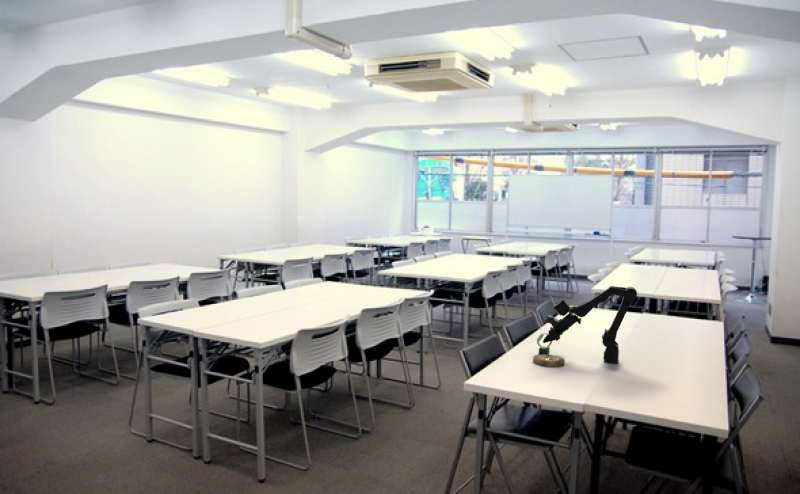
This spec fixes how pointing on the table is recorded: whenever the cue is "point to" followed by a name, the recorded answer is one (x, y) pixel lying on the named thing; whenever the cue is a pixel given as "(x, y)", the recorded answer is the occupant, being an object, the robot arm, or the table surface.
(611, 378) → the table surface
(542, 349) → the watch
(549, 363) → the round dish
